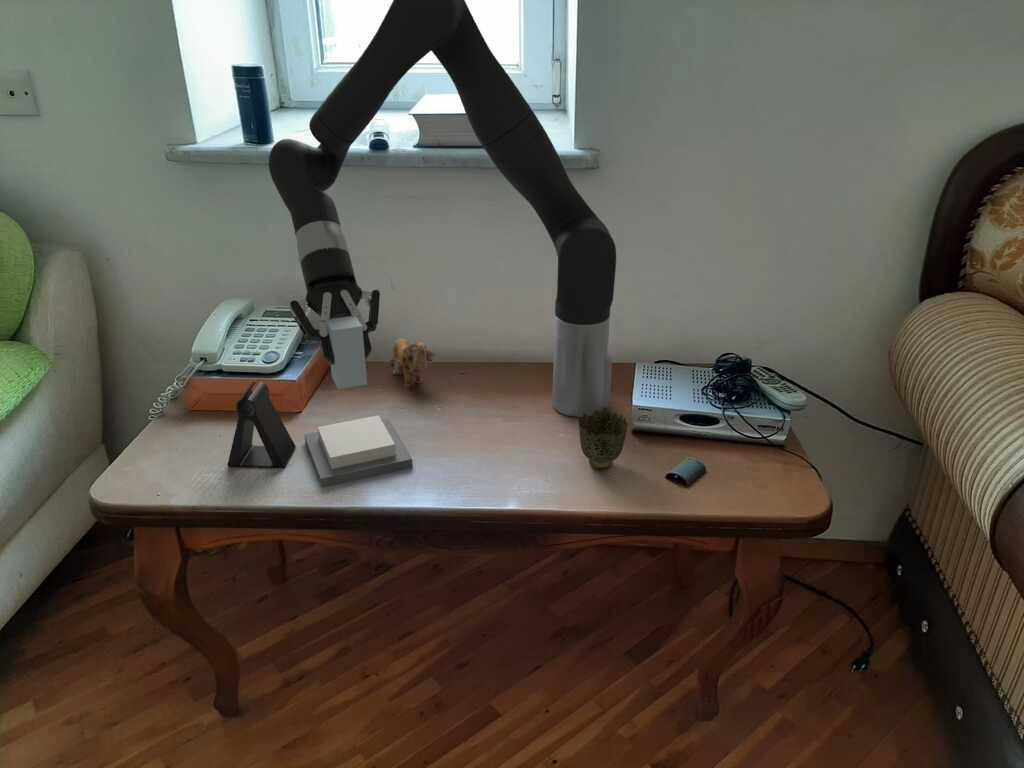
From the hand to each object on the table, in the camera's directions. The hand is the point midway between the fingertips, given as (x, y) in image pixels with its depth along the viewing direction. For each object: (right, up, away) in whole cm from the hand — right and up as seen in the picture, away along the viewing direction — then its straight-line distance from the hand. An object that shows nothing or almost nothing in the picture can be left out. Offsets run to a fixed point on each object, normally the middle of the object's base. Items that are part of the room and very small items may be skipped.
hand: (349, 359), depth 116 cm
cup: (+38, -16, +6) cm, 42 cm away
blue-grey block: (-1, -3, +3) cm, 4 cm away
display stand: (-1, -15, +9) cm, 17 cm away
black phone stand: (-15, -15, +8) cm, 23 cm away
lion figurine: (+5, -3, +34) cm, 34 cm away
